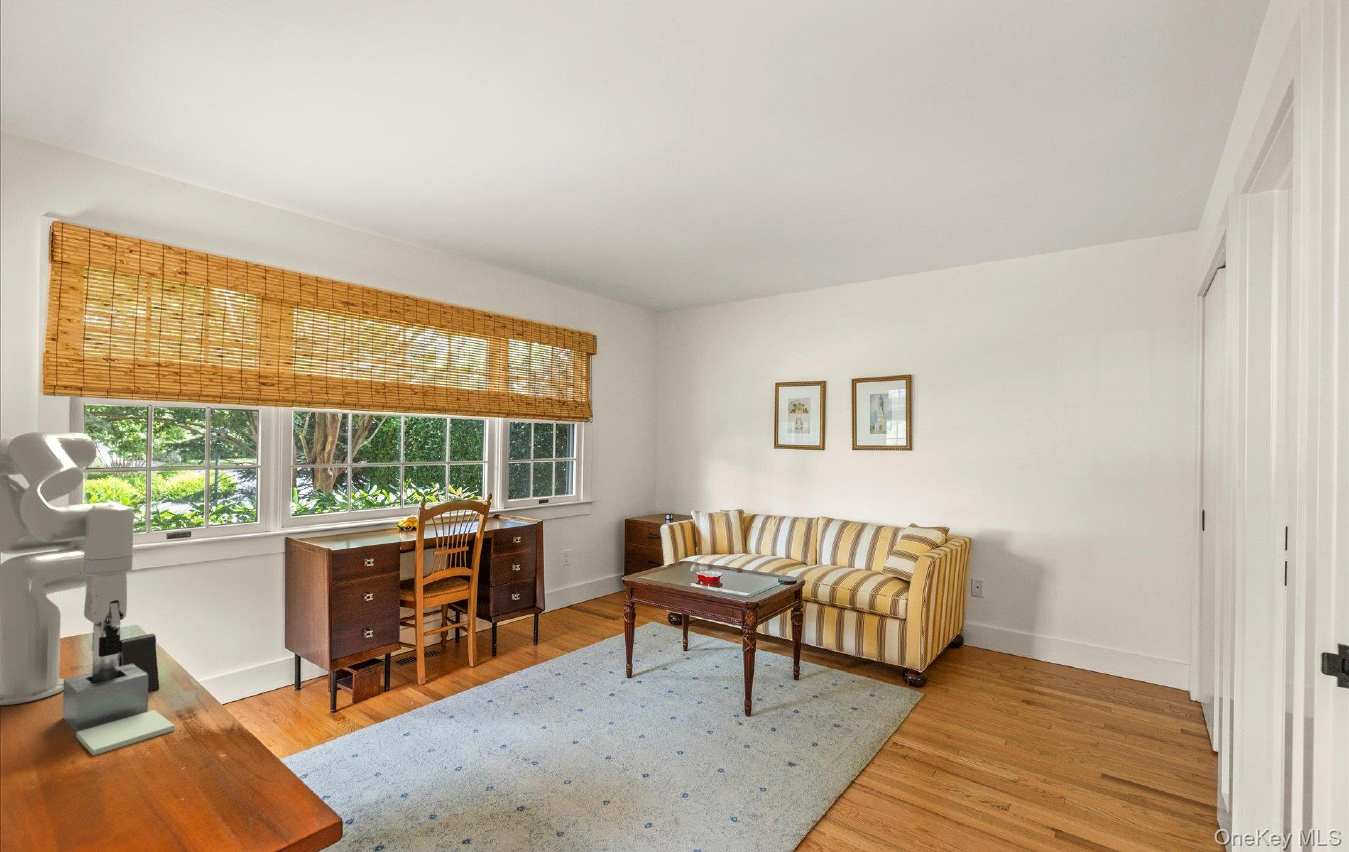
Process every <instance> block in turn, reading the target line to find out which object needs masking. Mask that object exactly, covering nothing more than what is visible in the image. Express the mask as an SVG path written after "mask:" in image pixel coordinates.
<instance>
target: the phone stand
mask: <svg viewBox="0 0 1349 852" xmlns="http://www.w3.org/2000/svg"><path fill="white" fill-rule="evenodd" d="M156 637H157V636H156V634H155V633H150V634H149V633H148V634H145V635H140V636H134V637H129V638H125V639H124V638H123V639H120V652H119V658H118V667H119V666H123V665H128V664H134V665H135V666H137V667H138V668H140V669H141V670H143V671H144V672H146V673H147V674H148V693H150V691H151V692H154V690H155V691H158V690H160V682H159V681H160V680H159V670H158V657H157V638H156ZM157 689H158V690H157Z"/></svg>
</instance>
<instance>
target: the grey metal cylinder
mask: <svg viewBox="0 0 1349 852" xmlns="http://www.w3.org/2000/svg"><path fill="white" fill-rule="evenodd" d="M108 625H110V624H106V627H107V626H108ZM93 626H94V625H93ZM93 633H94V635H93V634H92V645H93V651H92V667H91V668H92V669H91V671H92V672H91V673H92V684H95V683H99V682H103V681H107V680H111V679H115V678H118V658H119V653H118V654H113V655H109V656H104V657H100V656H99V637H101V623H100V624H97V625H95V626H94V631H93Z"/></svg>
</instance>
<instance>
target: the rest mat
mask: <svg viewBox="0 0 1349 852" xmlns="http://www.w3.org/2000/svg"><path fill="white" fill-rule="evenodd" d="M175 726H176V725H175V724H174V723H172V722H171V721H170V720H168V719H167V718H166V717H165V716H163V714H160V713H159V712H158V711H157V710H155V709H151V710H150V711H148V712H145V713H142V714H138V715H135V716H131V717H128V718H124V719H121V720H117V721H114V722H110V723H106V724H103V725H99V726H96V727H92V728H89V729H85V730H82V731H78V732H75V734H76V737H75V738H76V739H77V740H78V741H79V742H80V743H81V744H82V746H84V748H85V749H87V750H88V752H89V753H90V754H91V755H92V756H97V755H100V754H103V753H106V752H110V751H113V750H116V749H118V748H122V747H125V746H128V745H132V744H135V743H138V742H139V743H140V742H142V741H144V740H149V739H151V738H154V737H157V736H161V735H164V734H167V733H170V732H174V731H175Z"/></svg>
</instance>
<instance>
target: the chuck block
mask: <svg viewBox="0 0 1349 852" xmlns="http://www.w3.org/2000/svg"><path fill="white" fill-rule="evenodd" d="M63 679H64V688H63V691H62V692H63V694H62V695H63V696H62V698H63V699H62V719H63V720H64V721H65V722H66V723H67V724H68V725H69V726H70V727H71V729H72V730H74V732H75V733H76V732H78V731H82V730H85V729H89V728H92V727H96V726H99V725H103V724H106V723H110V722H114V721H117V720H121V719H124V718H128V717H131V716H135V715H138V714H142V713H145V712H149V711H148V709H149V708H148V707H149V705H148V704H149V692H148V674H147V673H146V672H144V671H143V670H141V669H140V668H138V667H137V666H135V665H134V664H128V665H123V666H119V667H118V678H115V679H111V680H107V681H103V682H99V683H95V684H92V672H89V673H85V674H81V675H76V676H71V677H66V678H63Z"/></svg>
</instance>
